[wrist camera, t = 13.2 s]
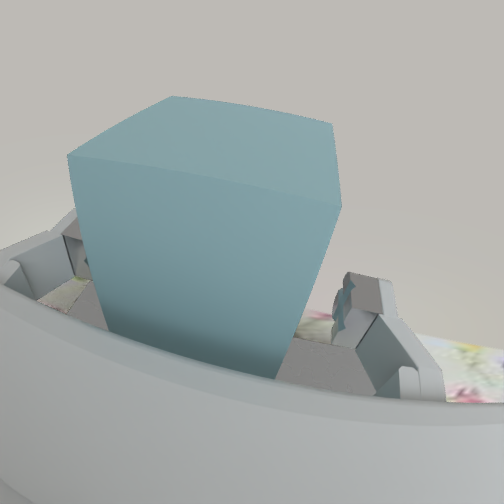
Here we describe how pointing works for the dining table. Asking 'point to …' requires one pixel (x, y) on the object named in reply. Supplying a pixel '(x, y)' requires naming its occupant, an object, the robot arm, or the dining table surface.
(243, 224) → the teal block
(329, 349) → the plinth
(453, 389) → the dining table surface
